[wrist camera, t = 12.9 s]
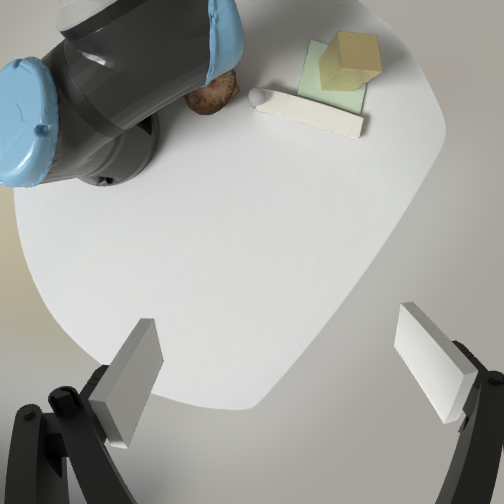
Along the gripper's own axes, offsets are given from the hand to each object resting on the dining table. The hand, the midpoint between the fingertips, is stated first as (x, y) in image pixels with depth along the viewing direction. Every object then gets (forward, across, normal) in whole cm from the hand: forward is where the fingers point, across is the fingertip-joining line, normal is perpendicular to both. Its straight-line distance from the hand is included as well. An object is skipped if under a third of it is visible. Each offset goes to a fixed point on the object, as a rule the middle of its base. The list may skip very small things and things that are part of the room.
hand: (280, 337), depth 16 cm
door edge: (+29, +7, +15) cm, 33 cm away
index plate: (+29, +11, +21) cm, 37 cm away
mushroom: (+29, -6, +19) cm, 35 cm away
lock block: (+28, +11, +21) cm, 37 cm away
